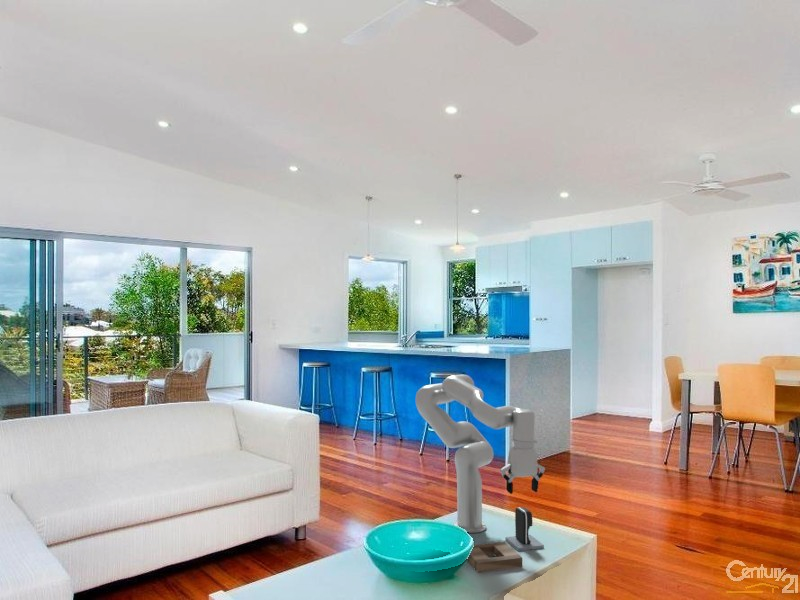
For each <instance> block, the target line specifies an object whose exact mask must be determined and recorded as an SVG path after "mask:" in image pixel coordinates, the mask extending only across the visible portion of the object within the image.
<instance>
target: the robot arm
mask: <svg viewBox="0 0 800 600" xmlns="http://www.w3.org/2000/svg"><path fill="white" fill-rule="evenodd" d="M483 399H484V391H482V389H481V388H478V387H477V386H475V381H474V380H473V379H472V377H471V376H470V375H468V374H455V375H454V374H453V375H450V376H448V377H446V378H444V380H443V381H442V382H441V383H432V384H427V385H423V386H422V387H421V388H419V389H418V391H416V394H415V406H416V408H417V411H418V413H419V415H420V416H421V417H422V418H423V420H424V421H426V422H427V424H429V426H430V427H431V428H432V430H433V431H434V432H435V434H436V435H437V436H438V437H439V439H440V440H441V441H442V443H443V444H444V445H445V446H446V447H447V448H450V449H457V448H458V449H457V450H456V452H455V454H454V464H455V471H456V485H457V486H456V492H457V493H456V498H457V499H456V503H457V504H456V505H457V507H456V510H457V512H456V514H457V516H456V520H455V521H454V522H453V525H455V526H459V527H461V528H463V529H465V530H466V531H467V532H469V534H475V533H476V534H477V533H481V532H484V531H486V529H487V524H486V522H484V521H483V486H482V485H483V482H482V476H481V473H480V470H479V468H481V467H484V466H487V465H489V464H490V463H491V462H492V461H493V459H494V455H495V454H494V450H493V449H494V448H493V447H492V446H491V443H489V441H488V440H487V439H486V438H485V437H484V436H483V434H482V433H481V432H480V431H479V430H478V429H477V427H476V426H475V425H474V424H472V422H469V421H465V420H464V421H463V420H462V421H457V422H456V421H455V420H453V419H452V417H451V416H450V415H449V414H448V412H447V411H445V410H444V409H443V408H441V407H440V406H439V405H443V404H448V403H452V402H454V401H456V402H458V403H460V405H463V406H464V407H466V408H468V409H469V410H470V412H471V414H472V415H473V417H474V418H475V419H476V420H477V421H478V422H480V423H482V424H483V425H485V426H487V427H489V428H491V429H494V430H501V429H504V428H509V427H512V446H511V447H510V448H509V451H508V457H507V464H506V465H505V466H503V467H502V468H500V469H499V472H500V474H501V477H502V478H503V479H504V480H505V481H506V492H507V493H509V494H511V495H512V494H513V493H514V491H513V490H514V483H513V480H514V479H515V478H524V477H525V478H526V477H532V478H531V491H533V492H534V493H538V489H539V482H540V480H541V478H542V477H543V475H544V474H545V473H544V472H545V471H546V467H545V466H542V465H540V464H538V456H537V451H536V448H535V445H537V444H538V441H537V440H536V439H535V423H536V421H535V417H536V416H535V412H534V411H533V410H531V409H527V408H520V407H517V406H514V405H504V406H498V407H494V406H492V405H491V404H489V403H487V402H485V401H484V400H483ZM538 469H539V471H538ZM506 473H508V474H506Z"/></svg>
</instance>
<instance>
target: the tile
mask: <svg viewBox="0 0 800 600" xmlns="http://www.w3.org/2000/svg"><path fill="white" fill-rule="evenodd" d="M528 537H529V540H530V541H531V543H529V544H523V543H522V542H520V541H519V540H518V539H517V538H516V535H515V536H506V537H505V542H506V543H507V544H508V545H509V546H511V547H513V549H515V551H516V552H521V551H522V552H523V551H530V549H532V550H538V549H539V550H540V549H544V548H545V546H544V544H543V543H542V542H540V541H539V540H538V539H536V538H535V537H534V536H532V534H528Z"/></svg>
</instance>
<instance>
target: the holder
mask: <svg viewBox="0 0 800 600" xmlns="http://www.w3.org/2000/svg"><path fill="white" fill-rule="evenodd" d="M473 545H474V547H473V549H472V551H471V553H470V555H469V557H468V559H467V560H466V561H467V562H468V563H469V564H470V566H471V567H472V566H473V567H474V568H475V569H474V568H473V567H472V568H473V569H474V570H475V571H476V573H485V572H492V571H500V570H508V569H517V568H523V557H522V556H521V555H520V554H519V553H518V551H516V550H514V548H512V546H511V545H510V544H509V543H508V542H506V541H498V542H497V541H496V542H490V543H489V542H488V543H480V544H479V543H478V544H473ZM489 556H494V557H489ZM484 571H485V572H484Z"/></svg>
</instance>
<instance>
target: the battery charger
mask: <svg viewBox="0 0 800 600" xmlns="http://www.w3.org/2000/svg"><path fill="white" fill-rule="evenodd" d="M514 513H515V515H514V516H515V517H514V518H515V519H514V521H515V536H516V538H517V539H518V540H519V541H520V542H522V543H523V544H529V543H531V541H530V540H529V537H528V535H529V529H530V528H531V527H533V513H532V511H530V510H529V509H527V508H526V507H524V506H523V507H522V506H521V507H518V506H517V508H515V511H514Z"/></svg>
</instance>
